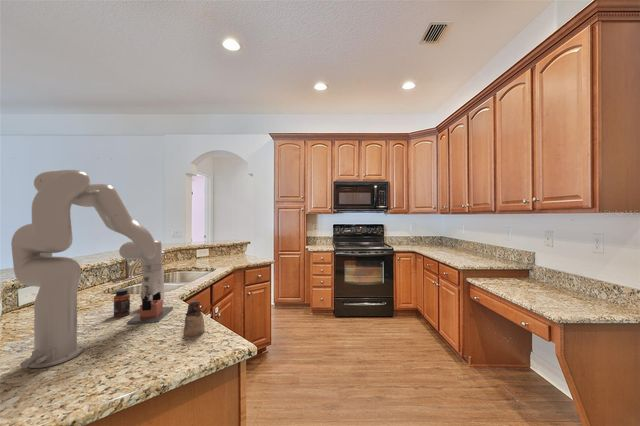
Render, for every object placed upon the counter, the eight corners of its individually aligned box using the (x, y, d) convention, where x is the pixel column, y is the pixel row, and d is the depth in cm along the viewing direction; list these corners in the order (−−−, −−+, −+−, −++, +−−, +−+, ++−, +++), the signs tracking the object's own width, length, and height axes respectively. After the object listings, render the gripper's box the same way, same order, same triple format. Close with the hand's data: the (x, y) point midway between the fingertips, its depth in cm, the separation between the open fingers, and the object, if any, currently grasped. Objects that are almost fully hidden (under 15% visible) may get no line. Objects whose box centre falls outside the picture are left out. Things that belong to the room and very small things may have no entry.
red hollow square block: (156, 315, 113) (156, 304, 113) (140, 317, 112) (140, 305, 112) (162, 310, 119) (162, 299, 120) (147, 311, 118) (147, 300, 118)
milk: (155, 302, 135) (155, 259, 136) (164, 303, 133) (164, 260, 134) (144, 305, 129) (144, 261, 130) (153, 306, 128) (153, 262, 128)
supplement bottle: (133, 312, 120) (133, 288, 120) (122, 317, 114) (122, 292, 114) (121, 312, 120) (121, 288, 121) (110, 317, 115) (110, 291, 115)
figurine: (197, 327, 103) (197, 297, 103) (208, 331, 100) (208, 299, 100) (179, 334, 97) (179, 302, 97) (190, 338, 93) (190, 305, 94)
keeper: (158, 321, 109) (158, 306, 109) (127, 324, 107) (127, 309, 107) (173, 308, 125) (173, 295, 125) (145, 310, 123) (145, 297, 123)
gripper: (152, 271, 108) (152, 312, 108) (168, 264, 125) (168, 299, 125) (132, 272, 107) (132, 314, 107) (151, 264, 124) (151, 300, 124)
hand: (151, 306), depth 116 cm, fingers open, 9 cm apart
